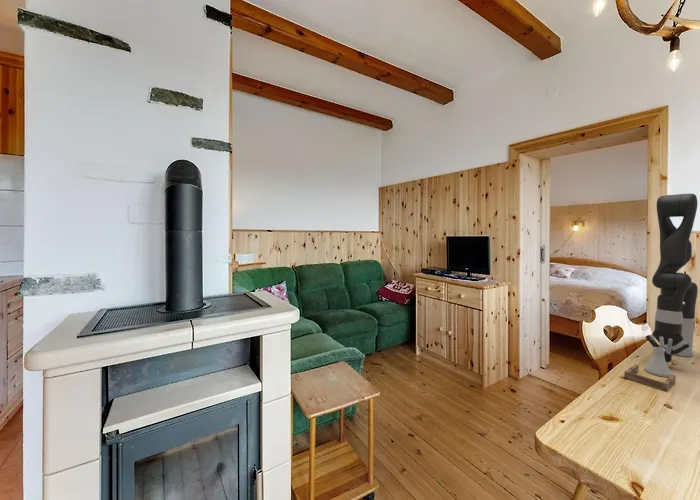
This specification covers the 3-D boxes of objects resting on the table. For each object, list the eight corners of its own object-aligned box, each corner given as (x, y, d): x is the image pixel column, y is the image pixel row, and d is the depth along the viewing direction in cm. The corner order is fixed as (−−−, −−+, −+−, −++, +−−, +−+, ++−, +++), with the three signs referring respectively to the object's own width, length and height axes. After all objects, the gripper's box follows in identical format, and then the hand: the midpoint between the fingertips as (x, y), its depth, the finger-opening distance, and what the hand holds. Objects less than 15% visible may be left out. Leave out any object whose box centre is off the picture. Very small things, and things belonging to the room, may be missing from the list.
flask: (658, 369, 117) (660, 345, 117) (677, 378, 110) (679, 352, 109) (639, 368, 118) (640, 344, 117) (656, 377, 111) (658, 351, 110)
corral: (634, 370, 116) (635, 364, 116) (675, 382, 107) (675, 375, 107) (624, 378, 110) (624, 371, 110) (666, 391, 101) (666, 384, 101)
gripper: (695, 323, 115) (692, 365, 116) (648, 315, 126) (646, 354, 127) (691, 326, 111) (687, 370, 112) (643, 317, 122) (640, 357, 123)
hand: (665, 361), depth 120 cm, fingers closed
